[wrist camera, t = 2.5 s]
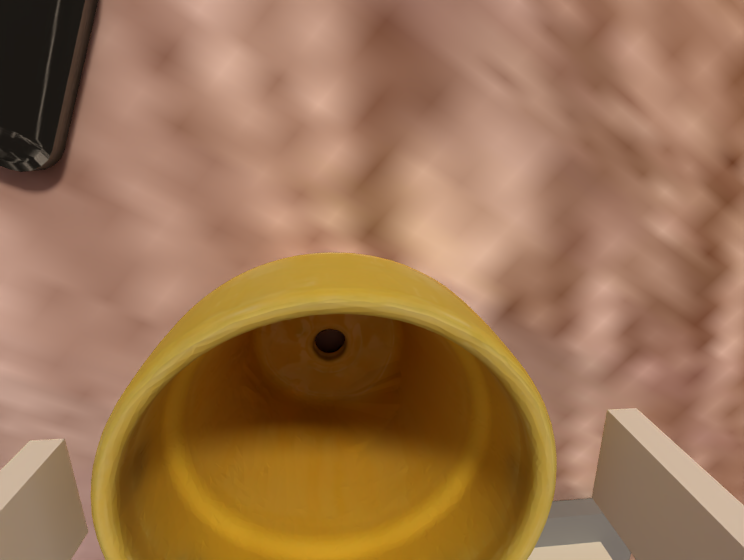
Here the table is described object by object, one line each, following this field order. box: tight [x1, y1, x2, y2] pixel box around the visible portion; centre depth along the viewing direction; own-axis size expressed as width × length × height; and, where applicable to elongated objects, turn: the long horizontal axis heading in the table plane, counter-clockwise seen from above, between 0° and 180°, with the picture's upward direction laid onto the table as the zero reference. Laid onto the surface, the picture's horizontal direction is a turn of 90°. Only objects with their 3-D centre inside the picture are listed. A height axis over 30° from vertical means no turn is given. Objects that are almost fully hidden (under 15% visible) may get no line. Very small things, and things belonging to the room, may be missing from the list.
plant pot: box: [91, 253, 556, 560], centre depth 15 cm, size 10×10×10 cm
